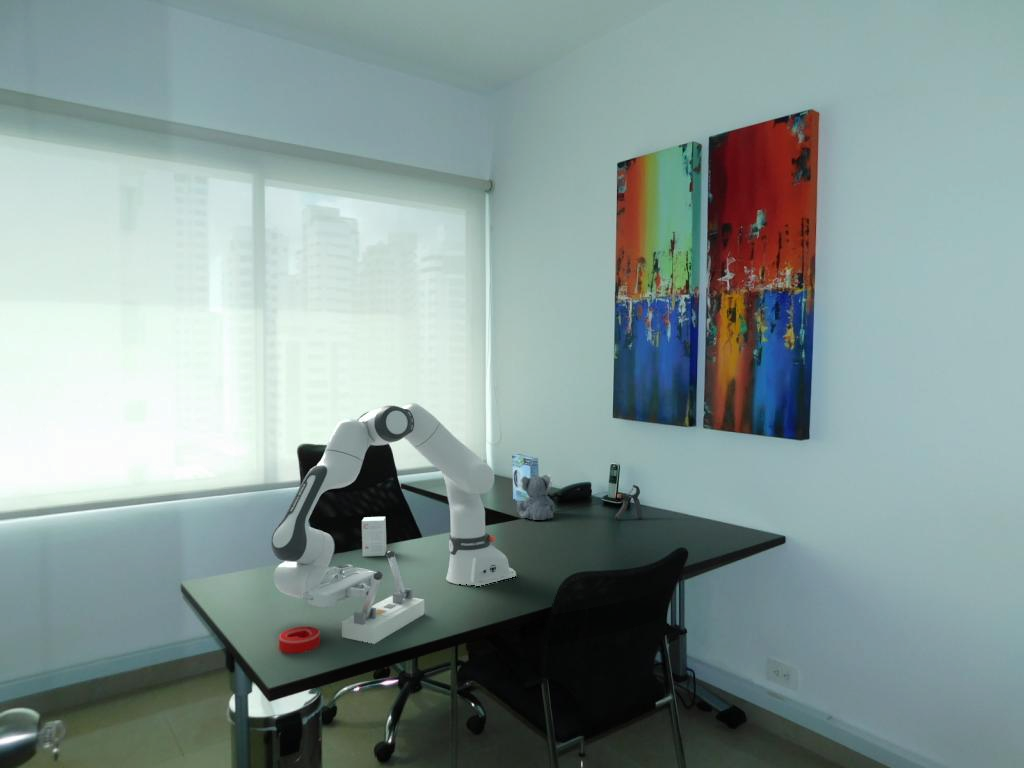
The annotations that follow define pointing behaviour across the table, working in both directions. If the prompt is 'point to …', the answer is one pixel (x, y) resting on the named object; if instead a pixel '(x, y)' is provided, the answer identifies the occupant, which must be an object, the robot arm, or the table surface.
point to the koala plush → (536, 498)
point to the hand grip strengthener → (626, 500)
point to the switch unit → (383, 618)
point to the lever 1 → (372, 594)
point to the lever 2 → (396, 574)
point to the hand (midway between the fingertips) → (368, 592)
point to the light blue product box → (522, 473)
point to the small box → (374, 536)
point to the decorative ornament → (299, 639)
